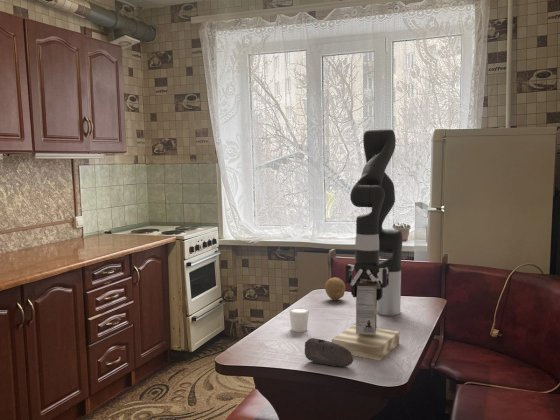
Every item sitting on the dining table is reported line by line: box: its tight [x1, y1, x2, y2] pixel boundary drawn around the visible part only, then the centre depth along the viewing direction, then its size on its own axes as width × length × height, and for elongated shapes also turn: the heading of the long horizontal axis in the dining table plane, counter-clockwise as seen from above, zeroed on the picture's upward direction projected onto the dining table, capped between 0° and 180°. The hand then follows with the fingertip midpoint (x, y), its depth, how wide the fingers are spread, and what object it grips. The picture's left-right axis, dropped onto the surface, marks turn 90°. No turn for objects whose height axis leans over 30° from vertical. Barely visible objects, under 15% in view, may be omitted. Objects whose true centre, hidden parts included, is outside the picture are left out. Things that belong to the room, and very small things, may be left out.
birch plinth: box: [331, 324, 400, 361], centre depth 179 cm, size 18×16×4 cm
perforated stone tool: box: [304, 337, 354, 368], centre depth 164 cm, size 15×5×7 cm, turn 59°
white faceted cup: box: [289, 307, 310, 333], centre depth 198 cm, size 7×7×7 cm
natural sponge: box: [324, 276, 346, 301], centre depth 240 cm, size 9×9×10 cm
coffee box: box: [355, 279, 378, 335], centre depth 178 cm, size 9×6×16 cm
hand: (366, 298), depth 178 cm, fingers closed on coffee box, 7 cm apart
